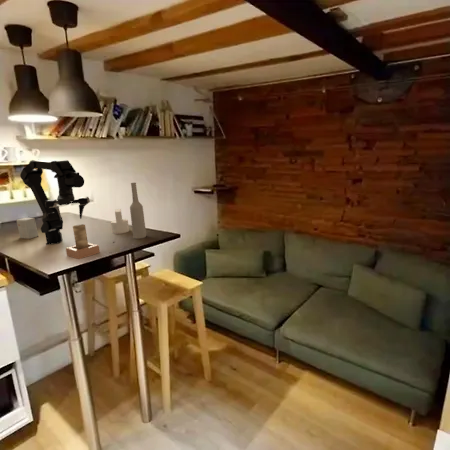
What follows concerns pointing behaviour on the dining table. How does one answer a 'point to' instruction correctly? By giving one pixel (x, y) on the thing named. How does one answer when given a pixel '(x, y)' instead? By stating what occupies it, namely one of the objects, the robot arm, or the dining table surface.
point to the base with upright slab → (119, 223)
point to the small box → (27, 228)
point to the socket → (82, 251)
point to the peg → (80, 236)
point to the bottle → (137, 215)
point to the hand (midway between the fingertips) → (70, 219)
